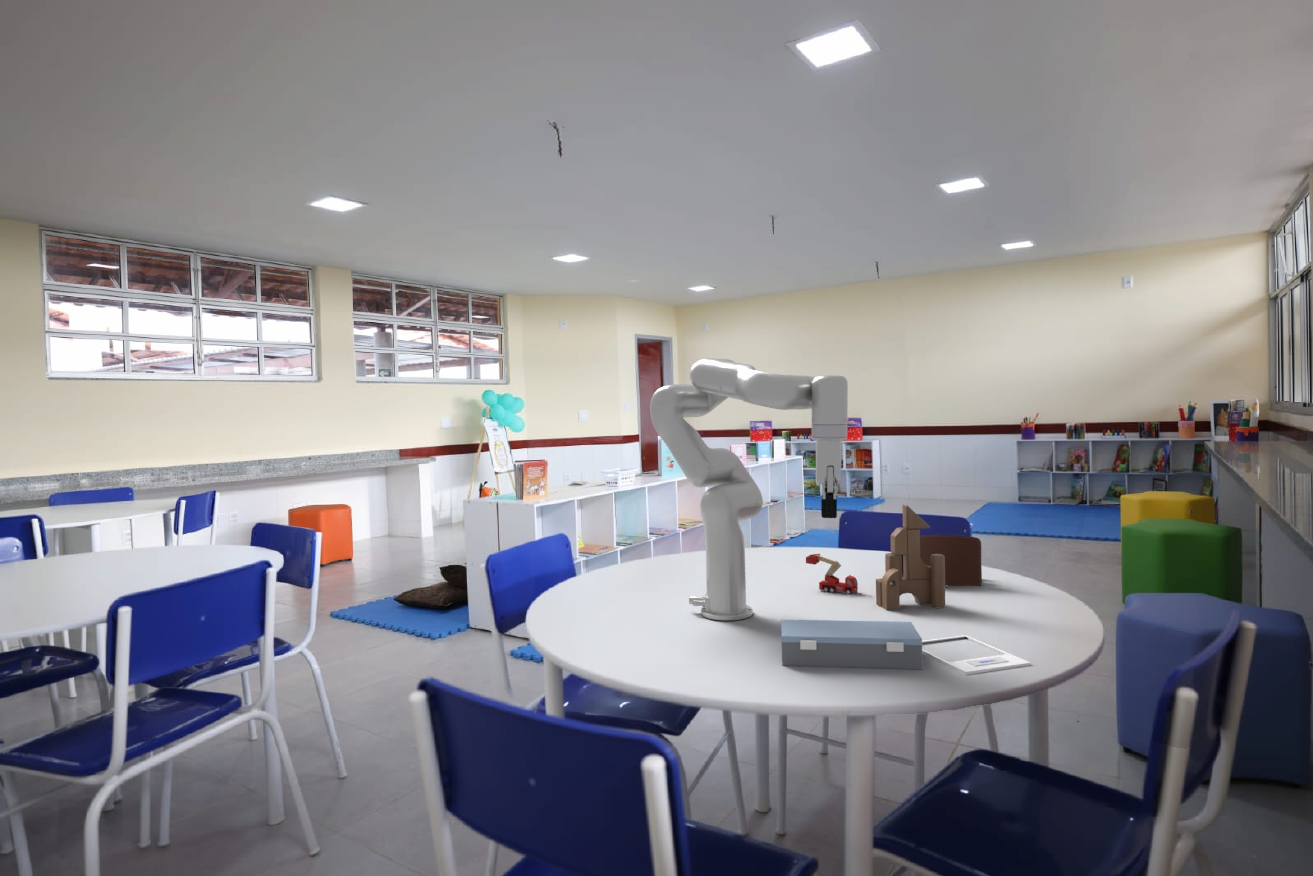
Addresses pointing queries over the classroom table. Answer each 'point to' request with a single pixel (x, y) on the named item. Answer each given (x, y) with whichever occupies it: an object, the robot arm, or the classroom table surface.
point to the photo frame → (980, 659)
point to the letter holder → (954, 557)
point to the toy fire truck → (833, 577)
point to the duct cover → (850, 633)
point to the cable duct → (852, 656)
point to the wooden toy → (910, 568)
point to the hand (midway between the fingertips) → (829, 517)
